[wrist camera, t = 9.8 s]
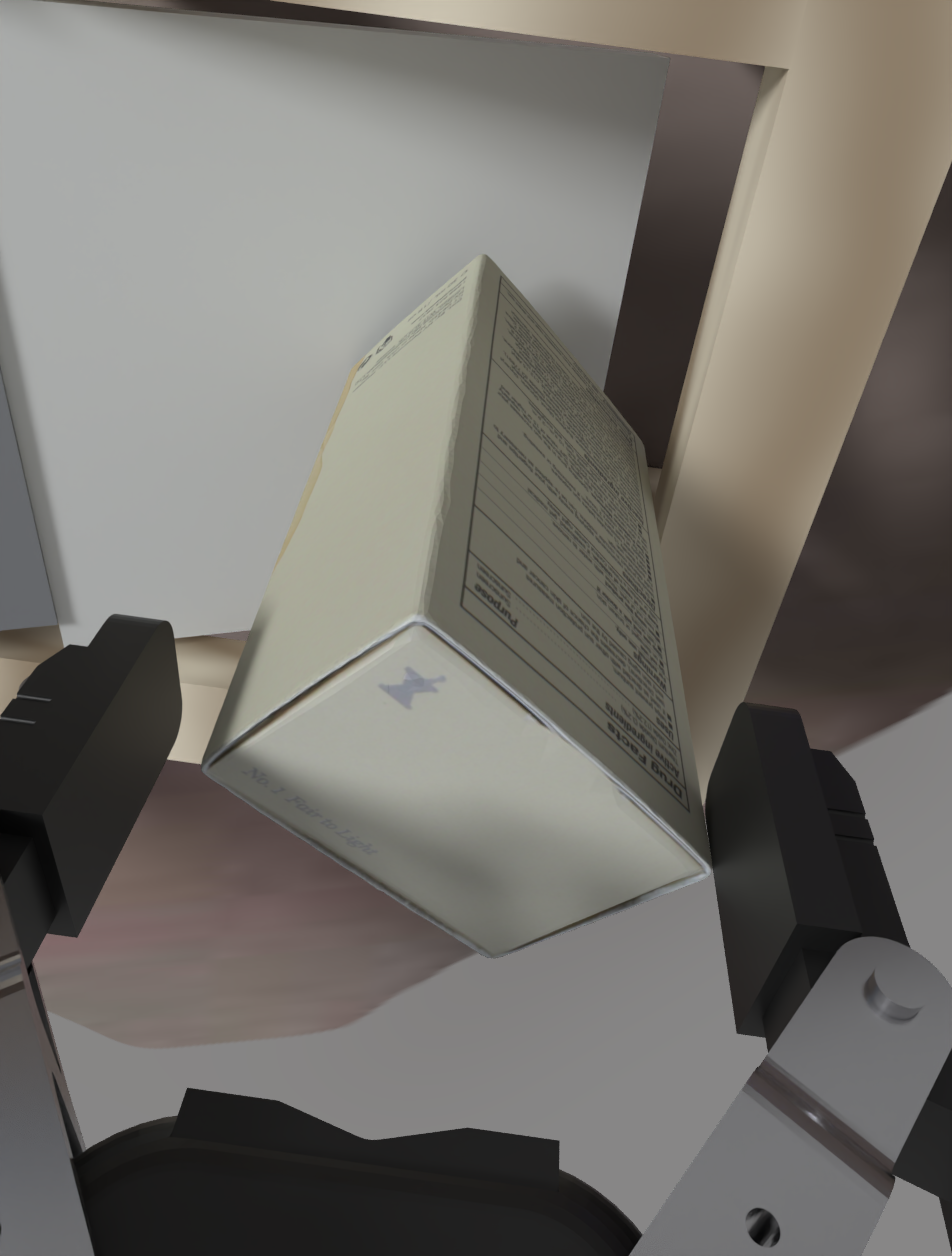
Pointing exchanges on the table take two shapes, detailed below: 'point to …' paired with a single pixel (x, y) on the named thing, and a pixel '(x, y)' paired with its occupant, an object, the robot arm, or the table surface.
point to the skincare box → (474, 640)
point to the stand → (733, 308)
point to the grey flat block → (259, 268)
